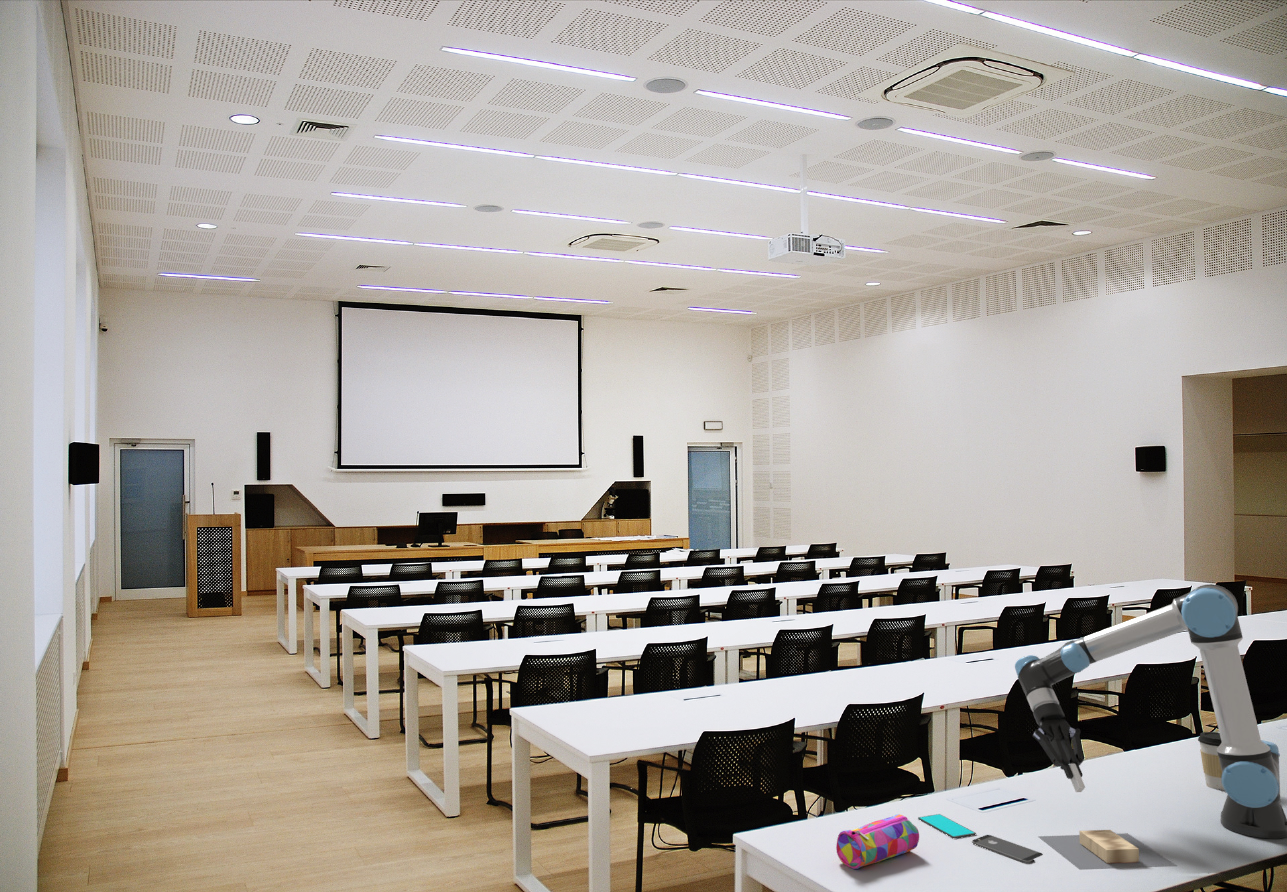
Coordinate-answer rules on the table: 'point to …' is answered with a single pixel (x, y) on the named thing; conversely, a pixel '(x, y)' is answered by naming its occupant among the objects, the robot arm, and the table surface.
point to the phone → (1007, 848)
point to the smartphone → (946, 826)
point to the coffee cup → (1211, 759)
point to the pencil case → (877, 841)
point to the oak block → (1109, 846)
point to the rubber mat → (1088, 860)
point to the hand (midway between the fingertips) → (1080, 789)
